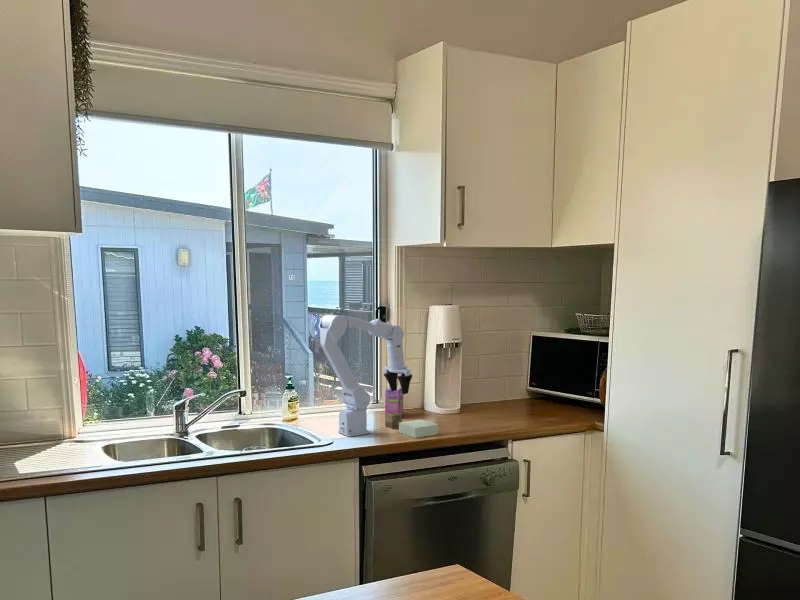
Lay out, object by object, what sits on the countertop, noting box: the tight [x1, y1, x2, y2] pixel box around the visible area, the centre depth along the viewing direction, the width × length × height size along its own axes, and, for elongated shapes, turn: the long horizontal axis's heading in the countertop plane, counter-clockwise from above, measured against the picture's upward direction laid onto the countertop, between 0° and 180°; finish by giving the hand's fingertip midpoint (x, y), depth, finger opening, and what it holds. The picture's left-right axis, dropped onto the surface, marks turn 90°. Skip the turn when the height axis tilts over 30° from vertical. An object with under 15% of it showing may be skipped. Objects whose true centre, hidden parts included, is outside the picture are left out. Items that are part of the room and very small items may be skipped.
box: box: [384, 384, 404, 415], centre depth 243 cm, size 10×6×12 cm, turn 168°
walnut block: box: [384, 412, 403, 430], centre depth 224 cm, size 4×4×5 cm
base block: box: [398, 419, 439, 439], centre depth 214 cm, size 10×10×4 cm
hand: (399, 392), depth 225 cm, fingers open, 7 cm apart
